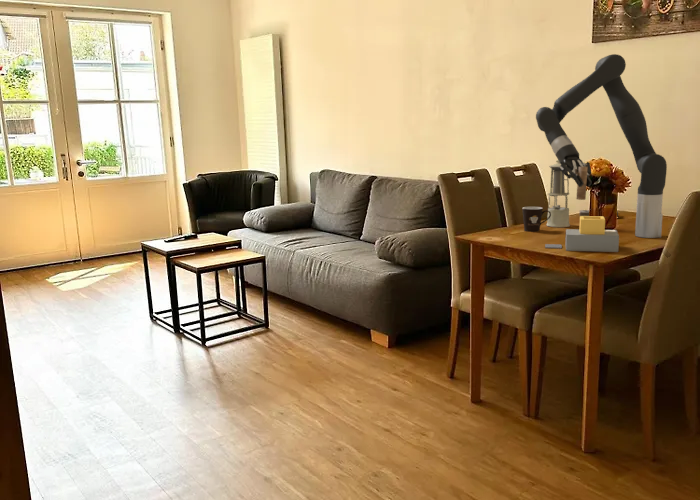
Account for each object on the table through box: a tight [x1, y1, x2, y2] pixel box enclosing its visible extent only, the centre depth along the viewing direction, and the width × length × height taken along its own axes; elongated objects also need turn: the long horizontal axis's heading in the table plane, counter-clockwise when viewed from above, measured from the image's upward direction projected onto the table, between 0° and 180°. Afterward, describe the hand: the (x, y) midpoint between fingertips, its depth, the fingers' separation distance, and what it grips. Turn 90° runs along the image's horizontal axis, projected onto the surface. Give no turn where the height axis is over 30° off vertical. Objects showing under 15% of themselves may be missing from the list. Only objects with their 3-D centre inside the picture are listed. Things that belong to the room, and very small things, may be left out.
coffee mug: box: [521, 206, 551, 233], centre depth 279 cm, size 12×9×10 cm
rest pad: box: [544, 243, 562, 250], centre depth 244 cm, size 6×6×1 cm
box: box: [579, 209, 619, 218], centre depth 311 cm, size 11×17×3 cm, turn 71°
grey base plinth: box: [564, 215, 620, 253], centre depth 239 cm, size 18×12×12 cm, turn 73°
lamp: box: [546, 159, 571, 228], centre depth 289 cm, size 10×13×30 cm
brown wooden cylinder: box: [575, 167, 588, 201], centre depth 236 cm, size 3×3×12 cm
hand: (585, 185), depth 235 cm, fingers closed on brown wooden cylinder, 3 cm apart
